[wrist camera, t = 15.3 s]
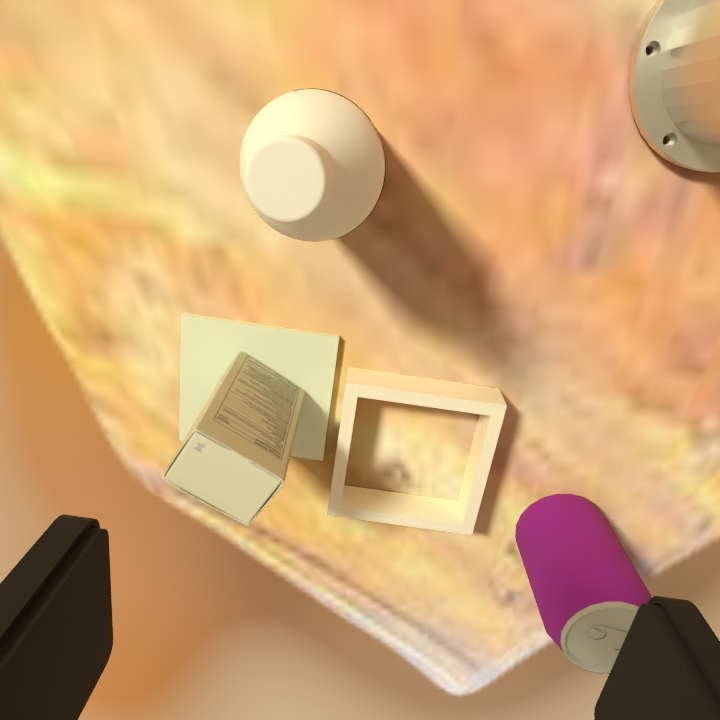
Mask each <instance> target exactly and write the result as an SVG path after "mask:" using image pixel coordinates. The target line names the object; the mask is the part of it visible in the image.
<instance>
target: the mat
mask: <svg viewBox="0 0 720 720" xmlns="http://www.w3.org/2000/svg"><path fill="white" fill-rule="evenodd" d="M339 337H340V335H334V334H327V333H320V332H313V331H306V330H299V329H292V328H285V327H278V326H271V325H265V324H258V323H251V322H244V321H237V320H230V319H223V318H216V317H209V316H202V315H195V314H188V313H183V314H182V315H181V370H180V431H179V441H183V440H184V439H185V437H186V435H187V434H188V432H189V430H190V429H191V427H192V425H193V424H194V422H195V420H196V419H197V417H198V415H199V414H200V412H201V410H202V409H203V407H204V405H205V404H206V402H207V400H208V399H209V397H210V395H211V394H212V392H213V390H214V389H215V387H216V385H217V384H218V382H219V380H220V379H221V377H222V376H223V374H224V373H225V371H226V370H227V369H228V367H229V366H230V364H231V363H232V362H233V360H234V359H235V357H236V356H237V355H238V353H239V352H240V351H242V352H244V353H246V354H247V355H249V356H251V357H252V358H254V359H256V360H258V361H259V362H261V363H262V364H264V365H266V366H268V367H269V368H271V369H272V370H274V371H275V372H277V373H279V374H280V375H282V376H283V377H285V378H287V379H288V380H290V381H291V382H293V383H294V384H296V385H297V386H299V387H300V388H302V389H303V390H304V391H305V397H304V401H303V405H302V410H301V414H300V418H299V422H298V426H297V431H296V435H295V439H294V443H293V447H292V452H291V457H298V458H305V459H312V460H319V461H323V457H324V449H325V442H326V434H327V427H328V419H329V412H330V404H331V397H332V389H333V382H334V374H335V367H336V359H337V352H338V344H339Z"/></svg>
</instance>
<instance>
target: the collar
mask: <svg viewBox="0 0 720 720" xmlns="http://www.w3.org/2000/svg"><path fill="white" fill-rule="evenodd" d="M358 397H363V398H370V399H377V400H384V401H391V402H398V403H405V404H412V405H419V406H426V407H433V408H440V409H447V410H454V411H461V412H468V413H475V414H480V415H479V419H478V423H477V427H476V431H475V435H474V438H473V442H472V446H471V450H470V454H469V458H468V462H467V466H466V470H465V474H464V478H463V482H462V486H461V490H460V494H459V498H458V501H454V500H447V499H440V498H433V497H425V496H418V495H411V494H404V493H397V492H390V491H383V490H375V489H368V488H361V487H354V486H347V485H344V482H345V476H346V469H347V463H348V456H349V450H350V443H351V437H352V430H353V424H354V417H355V411H356V404H357V398H358ZM506 408H507V405H506V402H505V400H504V398H503V396H502V394H501V392H500V390H499V389H498V388H492V387H485V386H478V385H471V384H464V383H457V382H450V381H443V380H436V379H429V378H422V377H415V376H408V375H401V374H394V373H387V372H380V371H373V370H366V369H359V368H352V367H348V373H347V379H346V386H345V393H344V400H343V407H342V414H341V421H340V428H339V435H338V442H337V449H336V456H335V463H334V470H333V477H332V484H331V491H330V498H329V505H328V512H327V515H331V516H338V517H345V518H352V519H359V520H367V521H374V522H381V523H388V524H395V525H403V526H410V527H417V528H424V529H431V530H439V531H446V532H453V533H460V534H467V535H472V533H473V529H474V526H475V522H476V518H477V515H478V511H479V507H480V504H481V500H482V496H483V493H484V489H485V485H486V482H487V478H488V474H489V470H490V467H491V463H492V459H493V456H494V452H495V448H496V445H497V441H498V437H499V434H500V430H501V426H502V423H503V419H504V415H505V411H506Z"/></svg>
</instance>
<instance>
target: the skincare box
mask: <svg viewBox="0 0 720 720" xmlns="http://www.w3.org/2000/svg"><path fill="white" fill-rule="evenodd" d="M304 397H305V391H304V390H303V389H302V388H300V387H299V386H297V385H296V384H294V383H293V382H291V381H290V380H288V379H287V378H285V377H283V376H282V375H280V374H279V373H277V372H275V371H274V370H272V369H271V368H269V367H268V366H266V365H264V364H262V363H261V362H259V361H258V360H256V359H254V358H252V357H251V356H249V355H247V354H246V353H244V352H242V351H240V352H239V353H238V355H237V356H236V357H235V359H234V360H233V362H232V363H231V364H230V366H229V367H228V369H227V370H226V371H225V373H224V374H223V376H222V377H221V379H220V380H219V382H218V384H217V385H216V387H215V389H214V390H213V392H212V394H211V395H210V397H209V399H208V400H207V402H206V404H205V405H204V407H203V409H202V410H201V412H200V414H199V415H198V417H197V419H196V420H195V422H194V424H193V425H192V427H191V429H190V430H189V432H188V434H187V435H186V437H185V439H184V440H183V442H182V444H181V445H180V447H179V449H178V450H177V452H176V454H175V456H174V457H173V459H172V461H171V462H170V464H169V466H168V467H167V469H166V471H165V473H164V474H163V477H162V478H163V480H165V481H166V482H168V483H170V484H171V485H173V486H175V487H176V488H178V489H179V490H181V491H183V492H185V493H187V494H188V495H190V496H192V497H194V498H195V499H197V500H199V501H201V502H203V503H204V504H206V505H208V506H210V507H212V508H214V509H216V510H217V511H219V512H221V513H223V514H225V515H227V516H229V517H231V518H233V519H235V520H237V521H239V522H241V523H242V524H244V525H246V526H248V525H250V523H251V522H252V521H253V520H254V519H255V518H256V516H257V515H258V514H259V513H260V512H261V511H262V510H263V508H264V507H265V506H266V505H267V504H268V503H269V501H270V500H271V499H272V498H273V497H274V496H275V494H276V493H277V492H278V491H279V489H280V488H281V487H282V486H283V484H284V481H285V477H286V472H287V468H288V464H289V460H290V456H291V452H292V447H293V443H294V439H295V435H296V431H297V426H298V422H299V418H300V414H301V410H302V405H303V401H304Z"/></svg>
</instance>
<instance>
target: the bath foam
mask: <svg viewBox="0 0 720 720" xmlns="http://www.w3.org/2000/svg"><path fill="white" fill-rule="evenodd" d="M384 155H385V154H384V148H383V144H382V141H381V139H380V136H379V134H378V132H377V130H376V128H375V126H373V124H372V123H371V120H370V119H369V118H368V116H367V115H366V114H365V113H364V112H363V111H362V110H361V109H360V108H359V107H358V106H357V105H356V104H354V103H353V102H352V101H350V100H349V99H347V98H345V97H343V96H341V95H339V94H337V93H334V92H331V91H327V90H322V89H301V90H294V91H293V92H290V93H287V94H284V95H282V96H280V97H278V98H276V99H275V100H273V101H272V102H270V103H269V104H268V105H266V106H265V107H264V108H263V109H262V110H261V111H260V112H259V113H258V114H257V116H256V117H255V118H254V120H253V121H252V123H251V124H250V126H249V128H248V130H247V132H246V135H245V137H244V140H243V144H242V148H241V154H240V173H241V179H242V184H243V187H244V190H245V193H246V195H247V198H248V200H249V202H250V203H251V205H252V207H253V208H254V210H255V211H256V212H257V214H258V215H259V216H260V217H261V218H262V219H263V220H264V221H265V222H266V223H267V224H268V225H269V226H271V227H272V228H273V229H275V230H276V231H278V232H280V233H281V234H283V235H286V236H288V237H291V238H294V239H297V240H302V241H312V242H317V241H326V240H331V239H334V238H337V237H340V236H342V235H345V234H347V233H348V232H350V231H352V230H353V229H355V228H356V227H358V226H359V225H360V224H361V223H362V222H363V221H364V220H365V219H366V218H367V217H368V216H369V215H370V213H371V212H372V210H373V209H374V207H375V206H376V204H377V202H378V200H379V198H380V195H381V192H382V189H383V185H384V180H385V157H384Z"/></svg>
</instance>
